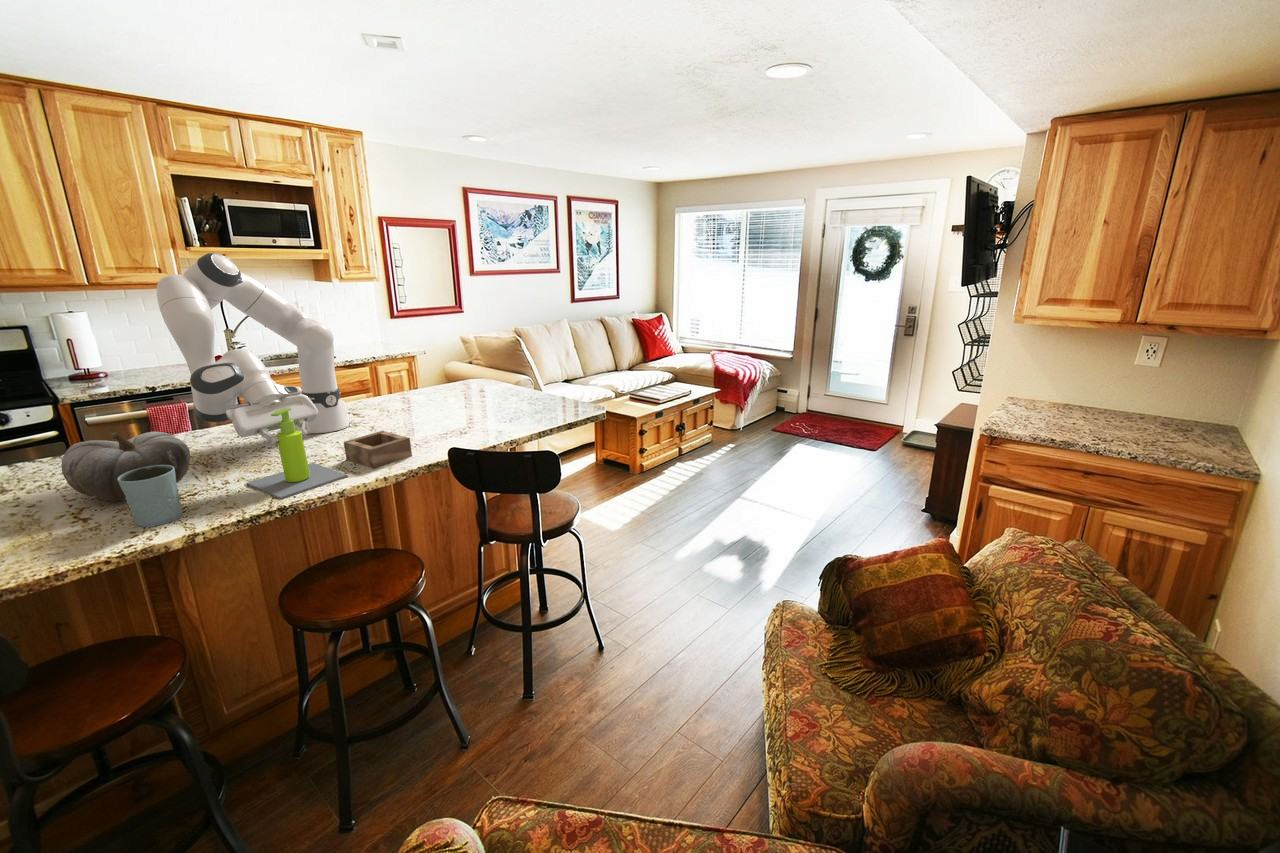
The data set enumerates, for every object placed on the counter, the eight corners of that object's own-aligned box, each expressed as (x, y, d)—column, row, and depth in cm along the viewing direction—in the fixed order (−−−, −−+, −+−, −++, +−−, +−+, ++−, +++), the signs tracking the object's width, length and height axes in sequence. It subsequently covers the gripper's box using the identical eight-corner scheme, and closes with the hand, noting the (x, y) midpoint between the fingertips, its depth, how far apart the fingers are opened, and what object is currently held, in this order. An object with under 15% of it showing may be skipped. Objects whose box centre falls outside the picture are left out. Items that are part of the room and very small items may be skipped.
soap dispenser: (277, 483, 150) (262, 412, 144) (294, 473, 156) (281, 405, 150) (298, 483, 149) (284, 413, 143) (314, 474, 156) (301, 406, 150)
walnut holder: (346, 460, 169) (343, 441, 167) (384, 448, 180) (382, 430, 178) (374, 469, 162) (371, 449, 160) (412, 456, 173) (409, 437, 171)
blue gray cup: (180, 506, 138) (168, 461, 135) (191, 517, 132) (179, 471, 129) (127, 520, 131) (113, 473, 127) (136, 533, 125) (121, 484, 121)
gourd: (39, 493, 139) (37, 427, 136) (153, 474, 162) (153, 416, 159) (103, 518, 132) (102, 448, 129) (212, 494, 155) (214, 434, 152)
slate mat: (246, 484, 151) (246, 482, 151) (313, 464, 166) (312, 462, 165) (280, 499, 142) (280, 497, 142) (347, 476, 156) (347, 474, 156)
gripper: (224, 400, 141) (250, 443, 139) (305, 385, 158) (330, 423, 156) (220, 414, 145) (246, 456, 143) (300, 398, 162) (324, 435, 160)
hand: (290, 439), depth 150 cm, fingers closed on soap dispenser, 6 cm apart
